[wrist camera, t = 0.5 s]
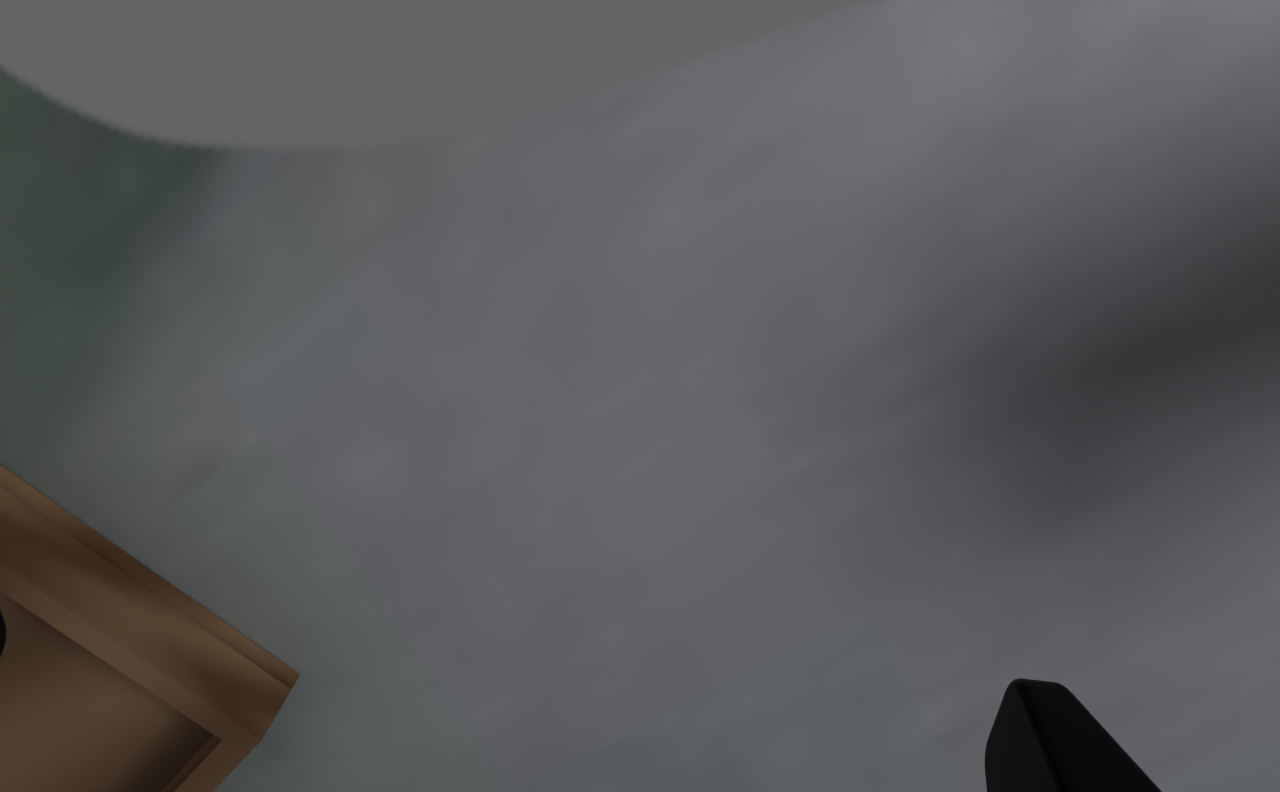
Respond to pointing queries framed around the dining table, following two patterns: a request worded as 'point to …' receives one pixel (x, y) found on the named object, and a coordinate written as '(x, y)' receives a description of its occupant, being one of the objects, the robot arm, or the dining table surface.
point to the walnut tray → (116, 666)
